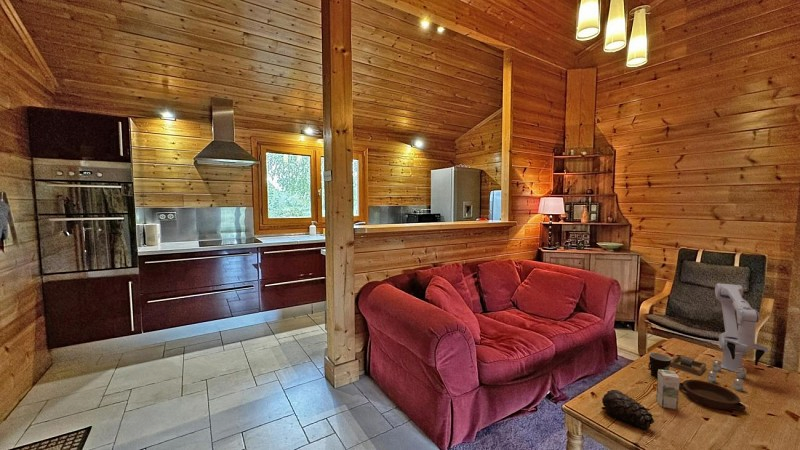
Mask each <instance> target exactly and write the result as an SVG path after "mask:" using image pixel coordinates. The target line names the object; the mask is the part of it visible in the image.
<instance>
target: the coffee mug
mask: <svg viewBox="0 0 800 450" xmlns="http://www.w3.org/2000/svg"><path fill="white" fill-rule="evenodd" d="M648 356H649V357H648V358H649V362H648V369H649V370H650V375H651V376H652V377H653V376H654V378H655V379H657V378H658V369H660V370H668V371H670V362H671V360H672V358H671V357H670V356H668V355H666V354H663V353H659V352H650V353H649V354H648Z"/></svg>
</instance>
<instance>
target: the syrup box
mask: <svg viewBox="0 0 800 450" xmlns="http://www.w3.org/2000/svg"><path fill="white" fill-rule="evenodd" d="M656 379H657V382H656V398H655V399H656V402H657V403H658V404H659V405H660V407H661V408H664V409H670V410H676V411H677V410H678V407H679V395H680V393H679V392H680V388H679V383H680V381H681V380H680V376H678V374H677V373H676V372H675V371H674V370H669V371H668V370H660V369H658V378H656Z"/></svg>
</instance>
